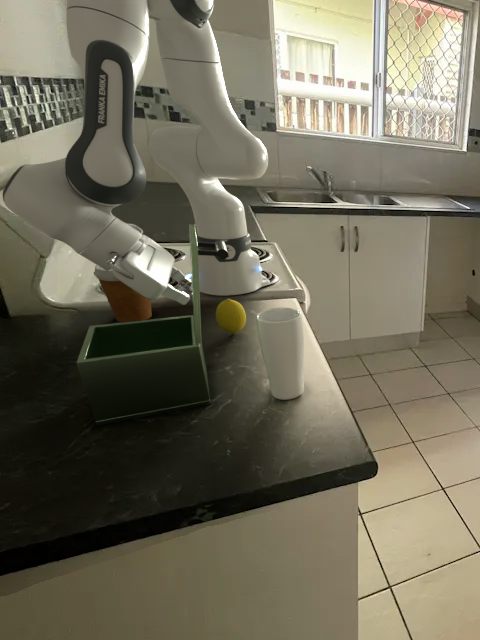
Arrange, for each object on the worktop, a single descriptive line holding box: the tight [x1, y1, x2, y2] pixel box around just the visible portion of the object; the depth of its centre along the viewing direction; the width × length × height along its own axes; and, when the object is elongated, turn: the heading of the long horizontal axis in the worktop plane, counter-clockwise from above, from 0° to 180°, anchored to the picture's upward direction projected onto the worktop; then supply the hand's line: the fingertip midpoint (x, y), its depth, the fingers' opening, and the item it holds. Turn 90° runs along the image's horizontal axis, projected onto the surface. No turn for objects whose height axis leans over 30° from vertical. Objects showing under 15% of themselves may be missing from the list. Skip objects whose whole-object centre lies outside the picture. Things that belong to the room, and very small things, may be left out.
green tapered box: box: [76, 314, 211, 427], centre depth 77 cm, size 15×14×11 cm
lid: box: [188, 224, 228, 343], centre depth 77 cm, size 16×14×5 cm
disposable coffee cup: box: [93, 264, 153, 323], centre depth 102 cm, size 10×10×12 cm
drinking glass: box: [255, 307, 305, 401], centre depth 80 cm, size 7×7×15 cm
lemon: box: [215, 298, 247, 335], centre depth 100 cm, size 6×6×8 cm
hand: (189, 293), depth 95 cm, fingers open, 8 cm apart
